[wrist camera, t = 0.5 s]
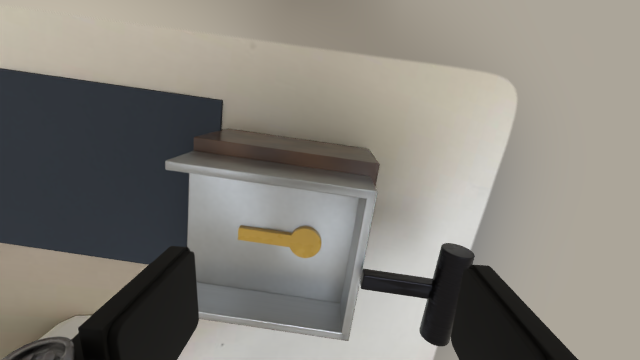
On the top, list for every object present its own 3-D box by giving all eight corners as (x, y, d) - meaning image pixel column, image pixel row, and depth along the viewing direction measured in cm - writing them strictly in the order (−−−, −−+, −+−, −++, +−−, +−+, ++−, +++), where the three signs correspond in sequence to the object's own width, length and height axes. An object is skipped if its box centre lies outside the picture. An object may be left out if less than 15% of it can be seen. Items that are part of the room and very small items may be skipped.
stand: (368, 148, 28) (379, 163, 22) (346, 270, 32) (350, 316, 25) (226, 128, 28) (193, 136, 22) (219, 252, 32) (188, 292, 25)
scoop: (451, 187, 22) (493, 218, 16) (418, 316, 25) (443, 381, 19) (193, 150, 22) (143, 167, 16) (189, 282, 25) (145, 336, 19)
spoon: (323, 228, 22) (323, 231, 22) (319, 257, 23) (318, 260, 22) (241, 216, 22) (238, 218, 22) (238, 245, 23) (236, 248, 22)
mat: (222, 100, 28) (221, 100, 27) (213, 272, 32) (212, 274, 32) (-159, 45, 28) (-166, 45, 28) (-114, 223, 33) (-119, 225, 32)
